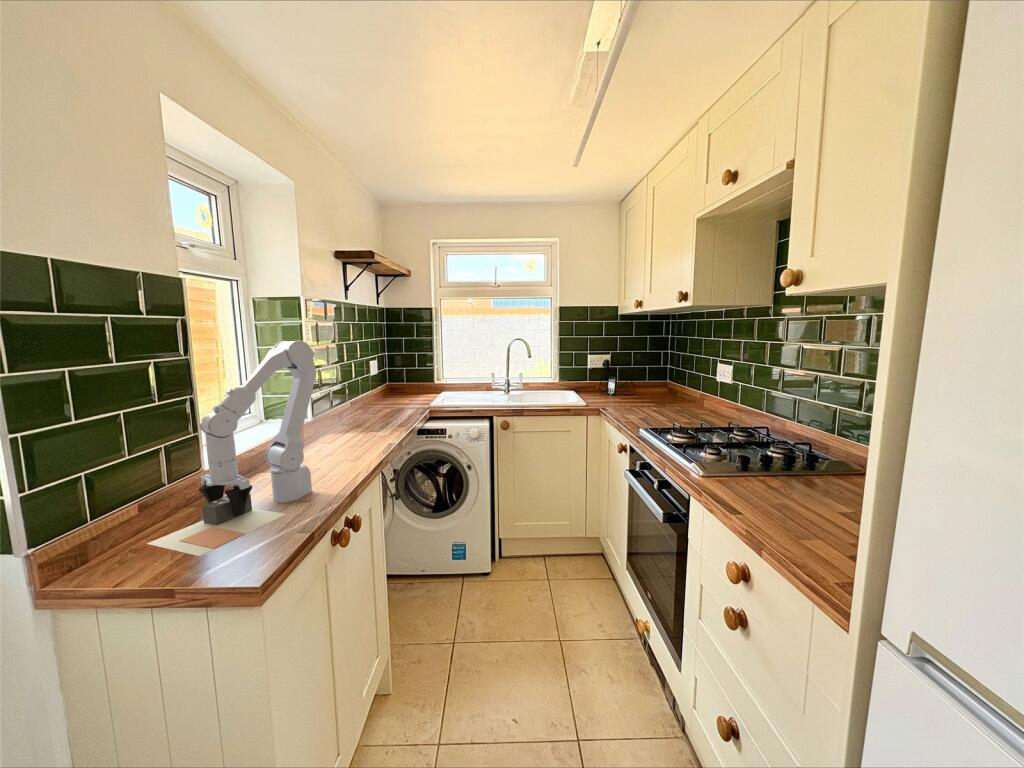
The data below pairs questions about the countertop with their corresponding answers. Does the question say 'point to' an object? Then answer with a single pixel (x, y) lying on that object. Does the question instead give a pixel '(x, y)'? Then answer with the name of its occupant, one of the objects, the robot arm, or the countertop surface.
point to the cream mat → (214, 533)
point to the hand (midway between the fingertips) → (228, 513)
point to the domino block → (221, 510)
